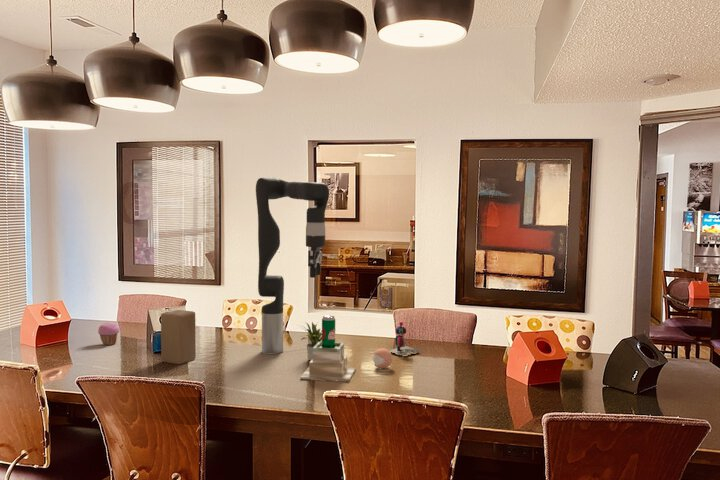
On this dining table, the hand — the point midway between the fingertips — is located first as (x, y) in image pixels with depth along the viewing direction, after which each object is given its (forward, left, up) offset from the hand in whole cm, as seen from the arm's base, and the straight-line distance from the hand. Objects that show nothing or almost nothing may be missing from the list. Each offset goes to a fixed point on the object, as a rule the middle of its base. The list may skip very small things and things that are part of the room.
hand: (315, 276), depth 216 cm
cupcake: (-22, -101, -36) cm, 110 cm away
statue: (-29, +33, -36) cm, 57 cm away
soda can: (+8, +7, -26) cm, 28 cm away
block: (-1, -57, -36) cm, 68 cm away
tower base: (+8, +7, -36) cm, 38 cm away
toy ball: (-4, +26, -36) cm, 45 cm away
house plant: (-12, -4, -36) cm, 38 cm away
